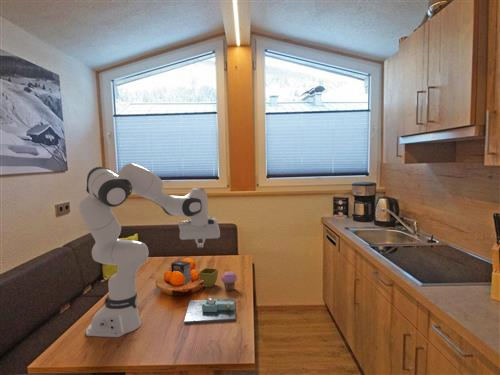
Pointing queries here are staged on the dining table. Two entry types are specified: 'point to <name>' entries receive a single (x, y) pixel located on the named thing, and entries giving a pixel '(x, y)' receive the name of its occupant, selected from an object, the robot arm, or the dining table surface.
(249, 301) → the dining table surface
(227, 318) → the base plate
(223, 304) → the flange
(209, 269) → the flower pot
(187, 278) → the coffee box
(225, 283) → the cupcake
